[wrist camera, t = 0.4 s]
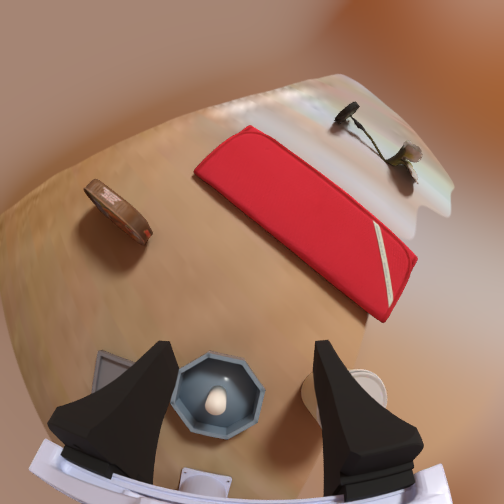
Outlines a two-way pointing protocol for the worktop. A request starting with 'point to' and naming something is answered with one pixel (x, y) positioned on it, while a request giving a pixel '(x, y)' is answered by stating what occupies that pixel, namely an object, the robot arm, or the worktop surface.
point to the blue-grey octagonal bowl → (237, 402)
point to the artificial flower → (402, 157)
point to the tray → (108, 369)
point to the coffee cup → (363, 377)
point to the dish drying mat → (311, 218)
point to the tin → (119, 211)
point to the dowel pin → (216, 400)
